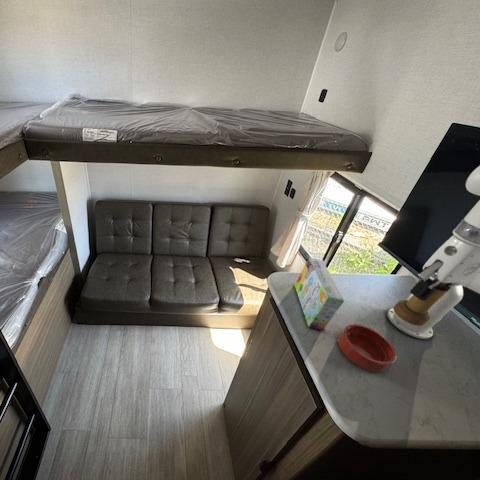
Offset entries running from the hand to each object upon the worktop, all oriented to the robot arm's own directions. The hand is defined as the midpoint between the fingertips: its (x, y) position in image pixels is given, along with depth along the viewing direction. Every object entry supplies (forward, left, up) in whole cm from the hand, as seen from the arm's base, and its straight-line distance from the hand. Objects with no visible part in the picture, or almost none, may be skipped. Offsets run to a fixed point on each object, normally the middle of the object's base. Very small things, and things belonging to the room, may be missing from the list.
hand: (424, 294), depth 62 cm
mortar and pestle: (0, 0, -7) cm, 7 cm away
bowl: (-1, -2, -28) cm, 29 cm away
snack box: (+4, -22, -29) cm, 36 cm away
